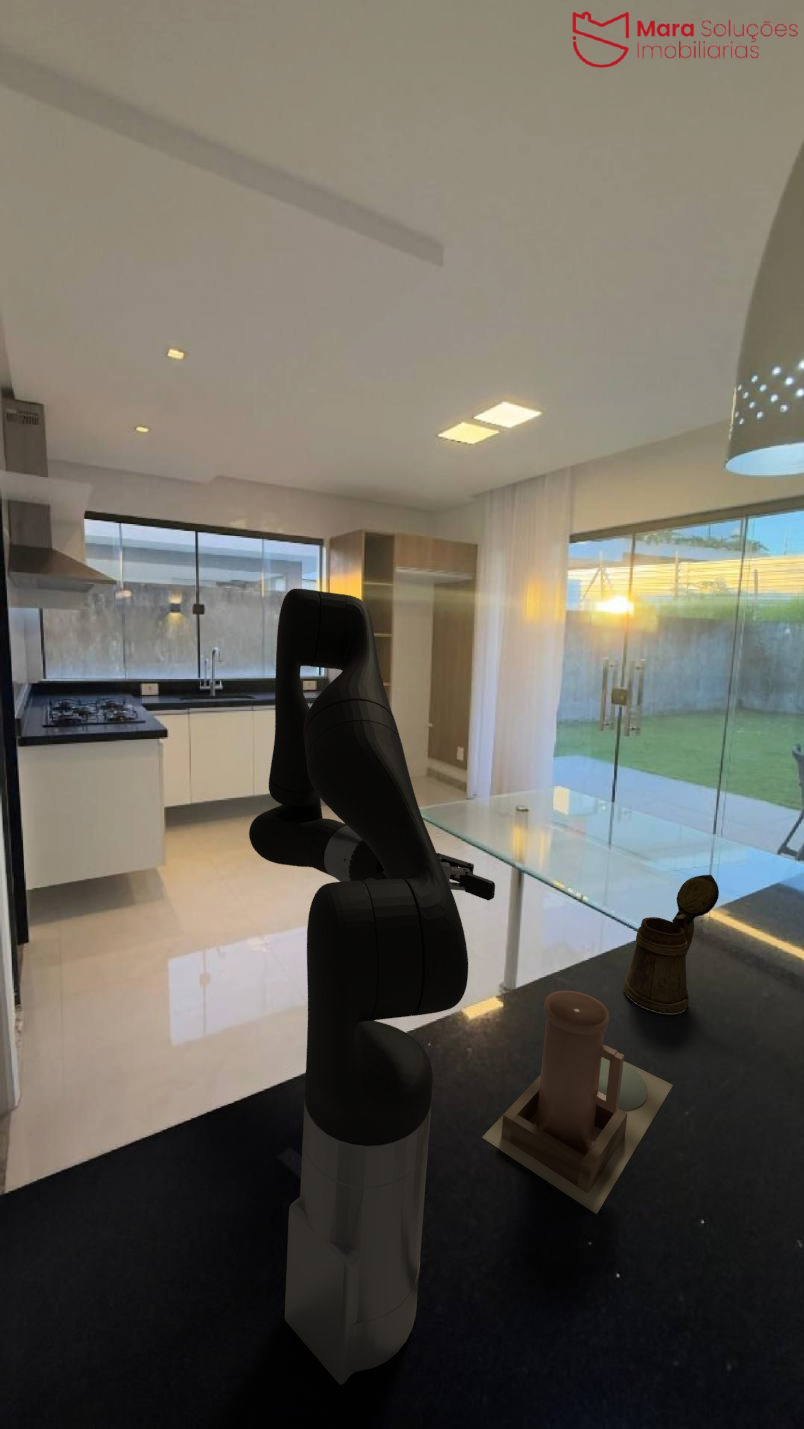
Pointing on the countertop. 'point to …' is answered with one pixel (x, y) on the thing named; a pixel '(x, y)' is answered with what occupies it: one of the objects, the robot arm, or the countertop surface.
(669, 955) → the wooden mug
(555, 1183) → the board
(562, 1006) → the tall brown tankard
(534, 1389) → the countertop surface
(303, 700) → the robot arm
